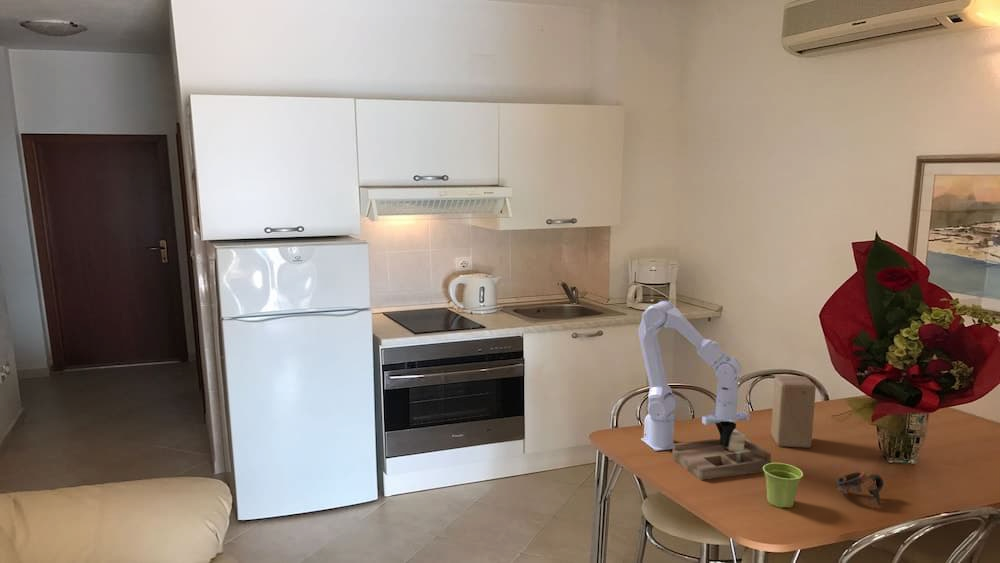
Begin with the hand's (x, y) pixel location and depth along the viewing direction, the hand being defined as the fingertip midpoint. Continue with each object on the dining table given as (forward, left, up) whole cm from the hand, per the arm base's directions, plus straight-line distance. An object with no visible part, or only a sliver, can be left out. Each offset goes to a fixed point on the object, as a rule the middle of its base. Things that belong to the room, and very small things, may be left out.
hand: (724, 445), depth 201 cm
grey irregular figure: (+32, +19, -4) cm, 37 cm away
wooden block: (-5, +28, -4) cm, 29 cm away
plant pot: (+28, -2, -4) cm, 28 cm away
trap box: (+3, -3, -4) cm, 6 cm away
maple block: (0, +3, -1) cm, 3 cm away
